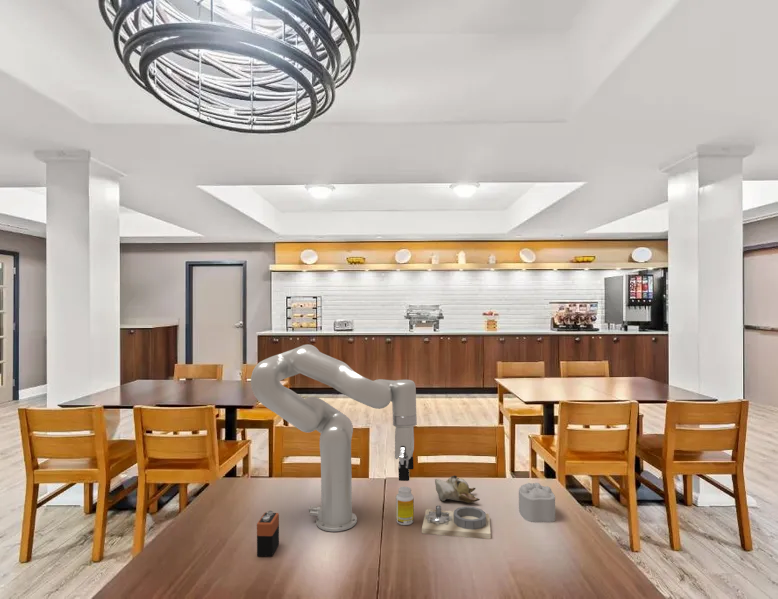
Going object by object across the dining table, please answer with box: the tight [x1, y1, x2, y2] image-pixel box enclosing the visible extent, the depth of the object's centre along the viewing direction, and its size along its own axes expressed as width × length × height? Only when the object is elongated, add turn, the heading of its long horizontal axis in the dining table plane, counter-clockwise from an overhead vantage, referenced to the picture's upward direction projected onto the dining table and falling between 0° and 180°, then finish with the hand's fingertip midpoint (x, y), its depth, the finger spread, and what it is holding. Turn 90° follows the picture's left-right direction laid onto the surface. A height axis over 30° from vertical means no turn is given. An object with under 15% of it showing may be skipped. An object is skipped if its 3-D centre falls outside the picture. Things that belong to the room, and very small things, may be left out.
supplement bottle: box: [395, 486, 415, 526], centre depth 145 cm, size 6×6×10 cm
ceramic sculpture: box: [434, 475, 480, 504], centre depth 161 cm, size 11×9×15 cm
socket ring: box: [453, 506, 487, 530], centre depth 141 cm, size 10×10×2 cm
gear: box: [424, 504, 452, 526], centre depth 143 cm, size 8×8×4 cm
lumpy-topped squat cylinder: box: [518, 482, 556, 523], centre depth 150 cm, size 10×13×9 cm
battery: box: [256, 510, 280, 557], centre depth 129 cm, size 4×7×10 cm, turn 177°
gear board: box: [421, 508, 492, 540], centre depth 142 cm, size 20×13×2 cm, turn 80°
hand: (406, 474), depth 145 cm, fingers open, 9 cm apart
